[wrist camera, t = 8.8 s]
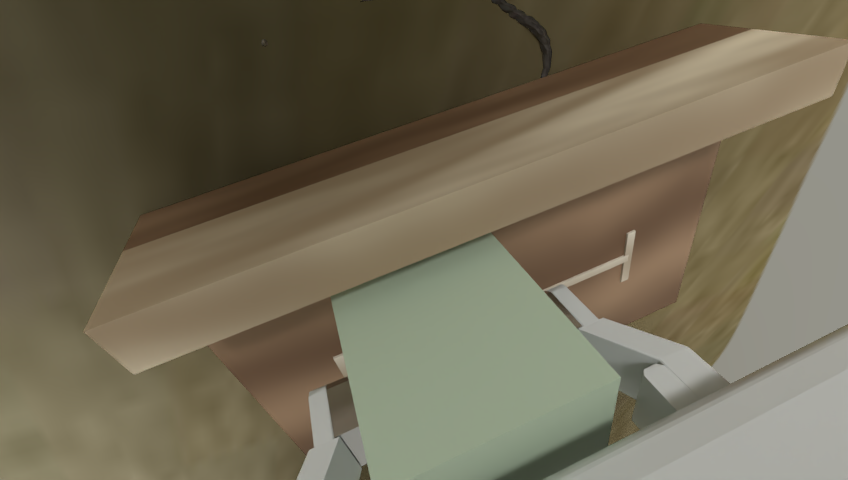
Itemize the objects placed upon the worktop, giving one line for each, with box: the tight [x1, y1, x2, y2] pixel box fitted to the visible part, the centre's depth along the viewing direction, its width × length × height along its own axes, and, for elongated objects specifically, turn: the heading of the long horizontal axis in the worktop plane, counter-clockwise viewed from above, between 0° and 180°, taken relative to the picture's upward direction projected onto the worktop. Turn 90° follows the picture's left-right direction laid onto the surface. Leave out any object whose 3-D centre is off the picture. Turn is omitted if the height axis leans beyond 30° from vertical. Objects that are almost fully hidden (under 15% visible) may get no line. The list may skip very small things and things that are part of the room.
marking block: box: [330, 233, 621, 480], centre depth 12 cm, size 6×5×7 cm
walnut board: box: [83, 23, 848, 456], centre depth 16 cm, size 14×21×5 cm, turn 103°
